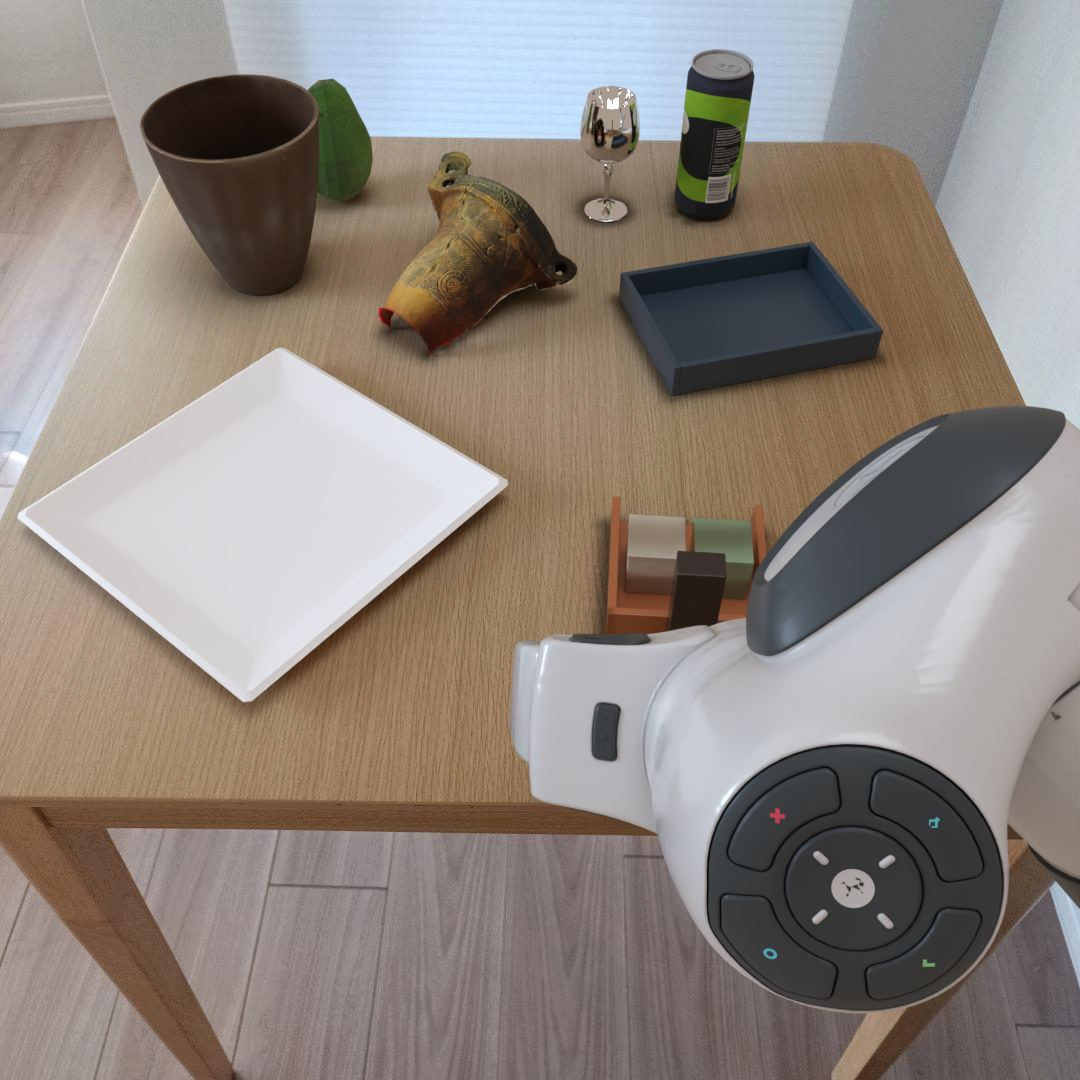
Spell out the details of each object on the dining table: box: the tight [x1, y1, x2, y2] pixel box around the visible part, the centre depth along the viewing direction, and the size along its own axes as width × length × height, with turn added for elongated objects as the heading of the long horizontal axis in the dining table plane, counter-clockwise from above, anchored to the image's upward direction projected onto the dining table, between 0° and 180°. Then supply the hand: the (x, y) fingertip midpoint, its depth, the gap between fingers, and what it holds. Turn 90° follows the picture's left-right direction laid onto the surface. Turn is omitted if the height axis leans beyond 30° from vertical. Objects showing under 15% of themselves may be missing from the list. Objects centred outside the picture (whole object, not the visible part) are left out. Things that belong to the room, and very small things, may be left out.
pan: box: [605, 496, 768, 634], centre depth 75 cm, size 13×11×10 cm
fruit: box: [307, 78, 374, 203], centre depth 110 cm, size 8×8×12 cm
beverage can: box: [674, 48, 755, 221], centre depth 108 cm, size 6×6×15 cm
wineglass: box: [579, 85, 641, 223], centre depth 108 cm, size 6×6×12 cm
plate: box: [16, 347, 509, 703], centre depth 83 cm, size 26×26×2 cm
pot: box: [377, 151, 579, 355], centre depth 99 cm, size 17×11×18 cm
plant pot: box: [139, 73, 319, 296], centre depth 99 cm, size 15×15×16 cm
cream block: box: [625, 513, 687, 595], centre depth 78 cm, size 4×4×4 cm
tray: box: [618, 241, 884, 396], centre depth 99 cm, size 19×14×3 cm
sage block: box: [689, 517, 754, 600], centre depth 78 cm, size 4×4×4 cm
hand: (719, 675), depth 56 cm, fingers open, 8 cm apart
